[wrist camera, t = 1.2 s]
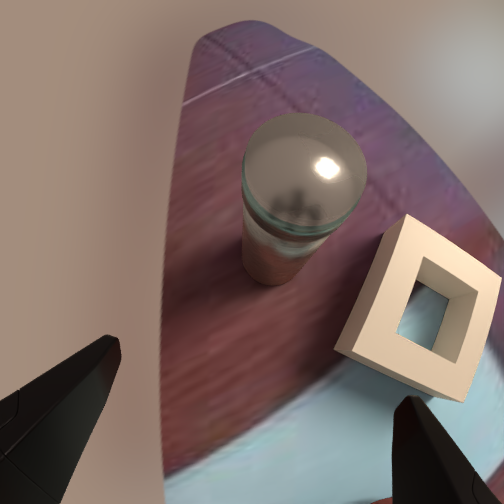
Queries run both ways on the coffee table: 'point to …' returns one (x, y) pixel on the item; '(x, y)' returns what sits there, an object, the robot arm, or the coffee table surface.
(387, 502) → the mechanical component
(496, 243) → the coffee table surface
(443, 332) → the docking block
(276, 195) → the cylinder
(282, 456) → the coffee table surface
